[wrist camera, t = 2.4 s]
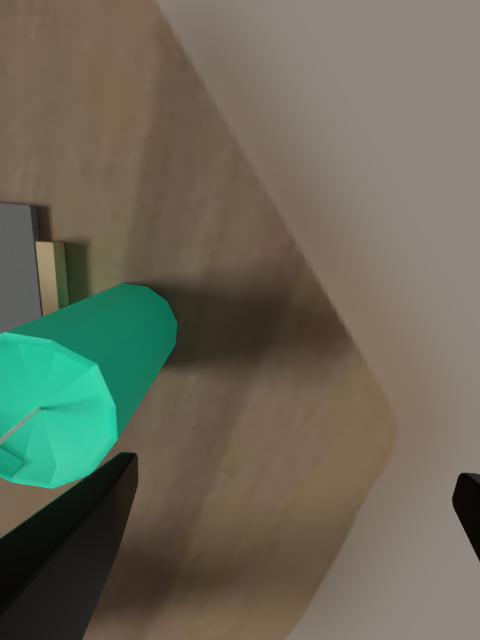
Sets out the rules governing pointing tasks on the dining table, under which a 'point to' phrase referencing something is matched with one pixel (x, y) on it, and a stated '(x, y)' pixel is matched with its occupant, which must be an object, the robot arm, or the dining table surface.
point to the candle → (78, 382)
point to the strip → (52, 275)
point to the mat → (19, 266)
